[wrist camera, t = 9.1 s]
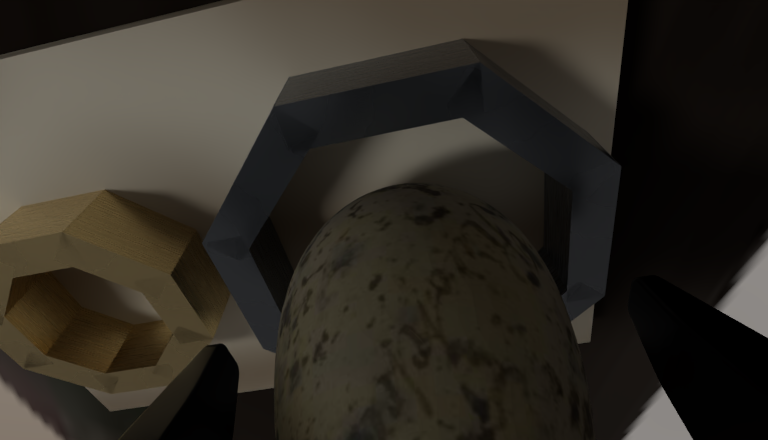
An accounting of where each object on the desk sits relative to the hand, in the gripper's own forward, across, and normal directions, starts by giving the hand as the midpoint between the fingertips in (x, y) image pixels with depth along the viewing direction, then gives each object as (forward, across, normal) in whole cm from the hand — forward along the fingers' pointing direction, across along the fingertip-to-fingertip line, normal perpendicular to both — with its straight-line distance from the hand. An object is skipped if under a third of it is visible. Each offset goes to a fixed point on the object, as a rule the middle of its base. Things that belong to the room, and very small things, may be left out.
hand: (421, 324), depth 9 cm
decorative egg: (+4, 0, 0) cm, 4 cm away
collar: (+5, 0, 0) cm, 5 cm away
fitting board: (+5, +4, 0) cm, 6 cm away
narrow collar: (+5, +9, 0) cm, 10 cm away
